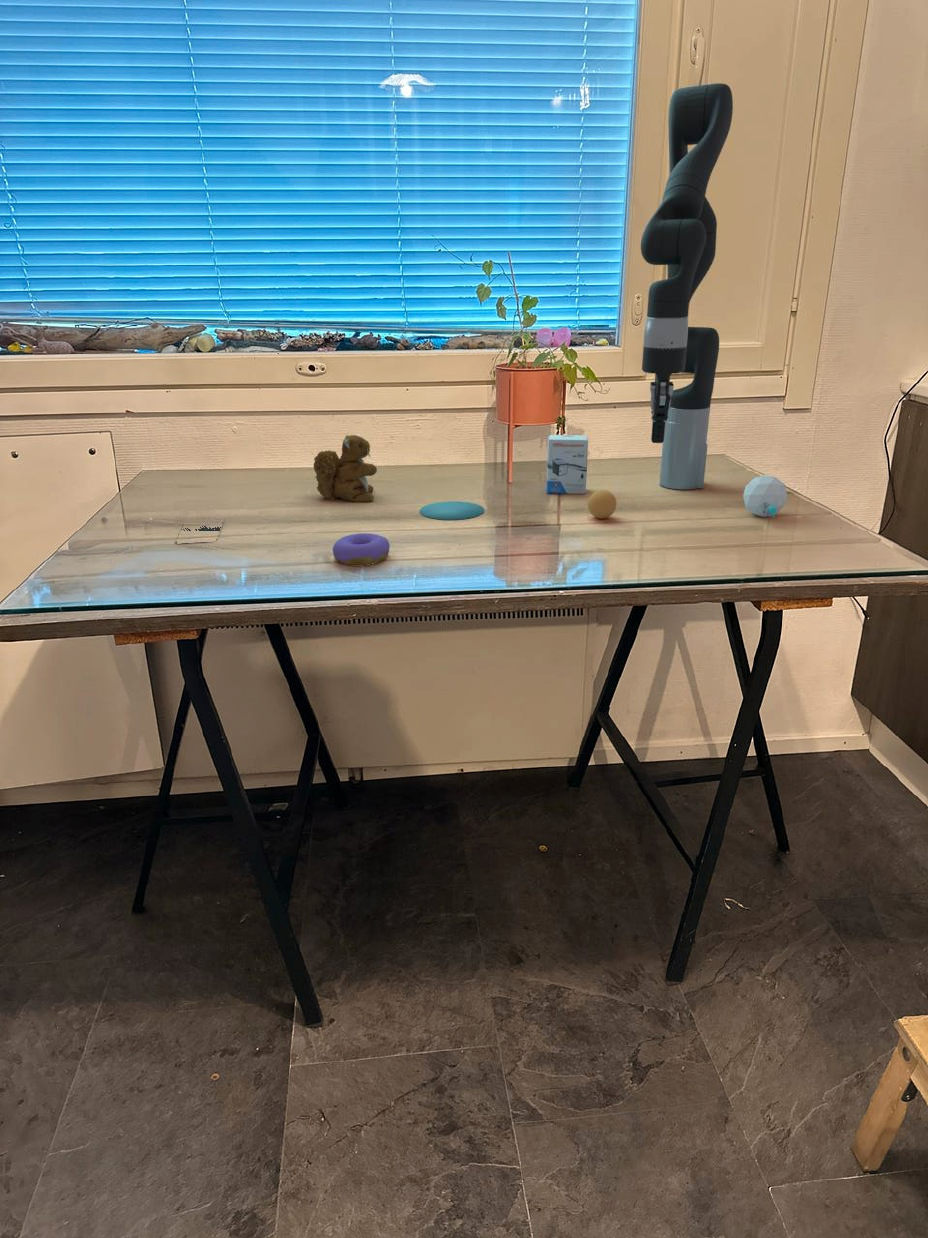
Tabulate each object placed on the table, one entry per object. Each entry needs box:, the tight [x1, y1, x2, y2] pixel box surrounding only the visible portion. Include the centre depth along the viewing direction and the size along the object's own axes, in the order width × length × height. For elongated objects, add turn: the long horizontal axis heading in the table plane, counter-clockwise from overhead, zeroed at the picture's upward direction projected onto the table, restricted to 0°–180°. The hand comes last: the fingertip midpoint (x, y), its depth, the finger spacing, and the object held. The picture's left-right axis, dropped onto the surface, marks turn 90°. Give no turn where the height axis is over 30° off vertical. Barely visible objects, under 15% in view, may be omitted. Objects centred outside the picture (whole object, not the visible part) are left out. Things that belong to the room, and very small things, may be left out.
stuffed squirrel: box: [313, 434, 378, 503], centre depth 174 cm, size 10×14×13 cm
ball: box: [587, 489, 617, 520], centre depth 158 cm, size 6×6×6 cm
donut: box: [332, 532, 391, 566], centre depth 138 cm, size 10×9×5 cm
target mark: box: [419, 500, 485, 521], centre depth 165 cm, size 13×13×1 cm
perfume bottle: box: [743, 474, 788, 519], centre depth 156 cm, size 8×8×12 cm
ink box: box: [545, 434, 589, 495], centre depth 176 cm, size 9×5×12 cm, turn 84°
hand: (657, 441), depth 151 cm, fingers closed
